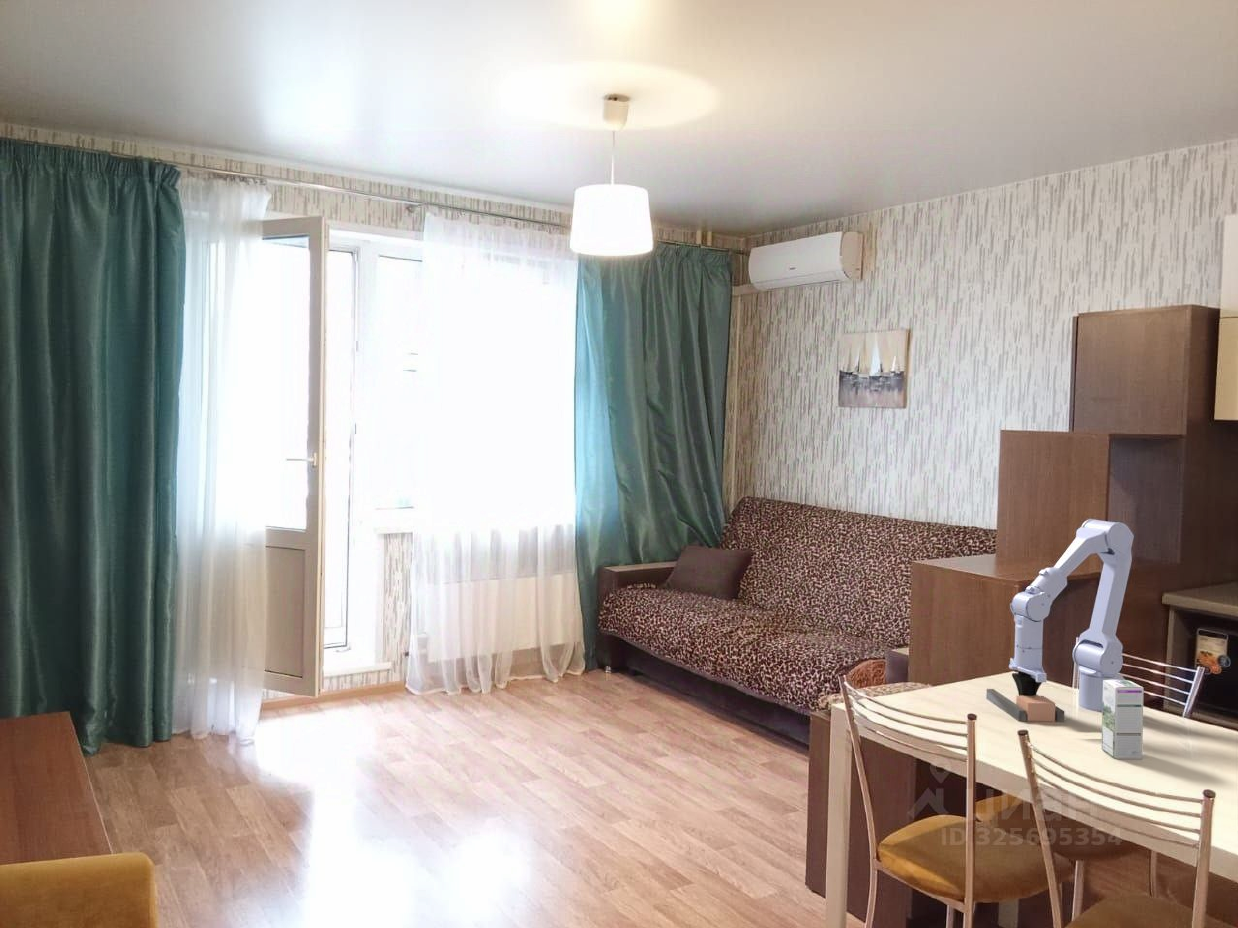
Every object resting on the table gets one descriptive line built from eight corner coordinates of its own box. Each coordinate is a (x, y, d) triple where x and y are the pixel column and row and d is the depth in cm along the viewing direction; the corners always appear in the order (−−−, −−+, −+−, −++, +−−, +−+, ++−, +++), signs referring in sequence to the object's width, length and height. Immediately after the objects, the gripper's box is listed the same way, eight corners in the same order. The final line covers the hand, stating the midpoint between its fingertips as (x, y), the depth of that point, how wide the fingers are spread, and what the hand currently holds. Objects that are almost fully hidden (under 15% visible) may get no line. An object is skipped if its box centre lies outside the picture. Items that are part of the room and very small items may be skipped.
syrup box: (1143, 759, 194) (1146, 686, 194) (1113, 759, 194) (1115, 686, 194) (1129, 750, 200) (1131, 679, 199) (1099, 749, 200) (1102, 678, 199)
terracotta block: (1042, 713, 221) (1043, 695, 221) (1054, 721, 215) (1055, 703, 215) (1015, 713, 221) (1016, 695, 221) (1027, 721, 215) (1028, 702, 215)
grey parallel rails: (1026, 700, 236) (1027, 685, 236) (1075, 731, 212) (1075, 715, 212) (977, 699, 236) (977, 685, 236) (1019, 730, 212) (1020, 714, 212)
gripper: (997, 639, 229) (996, 697, 230) (1024, 653, 215) (1022, 715, 215) (1028, 639, 229) (1026, 697, 230) (1056, 653, 215) (1054, 715, 215)
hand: (1026, 706), depth 222 cm, fingers closed
